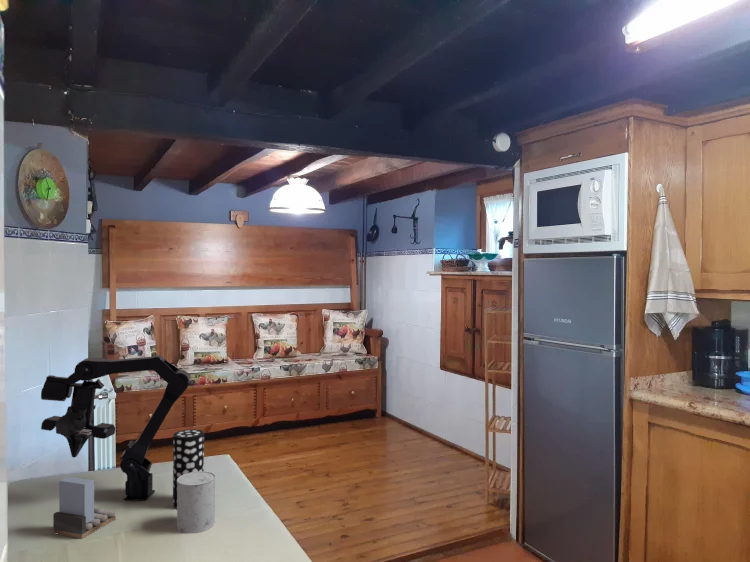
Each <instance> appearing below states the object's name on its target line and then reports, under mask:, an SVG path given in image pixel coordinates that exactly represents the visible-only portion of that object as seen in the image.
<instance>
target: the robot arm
mask: <svg viewBox="0 0 750 562" xmlns="http://www.w3.org/2000/svg"><path fill="white" fill-rule="evenodd" d="M145 371H153V372H155V373H156V374H157V375H158V376H159V377H160V378H161V379H162V380H164V381H165V383H167V384H166V386H165V390H164V393H163V396H162V398H161V399H160V401H159V403H158V405H156V406H157V407H156V408H155V410H154V412H153V413H152V415H151V416H150V418H149V421H148V422H147V424H146V425H145V427H144V428H143V430H142V432H141V434H140V436H139V437H138V438H137V439H136V440H135V441H134V440H129V443H128V444H127V446H126V449H125V450H123V453H121V456H120V458H119V459H120V460H121V461H120V463H119V466H120V470H121V471H122V472H123V473H124V474H125V475H126V481H125V484H124V486H125V488H124V489H125V491H124V492H125V493H124V495H125V497H123V500H124V501H146V500H148V499H149V498H150V497H151V496H152V495H154V494H155V493H156V490H155V489H153V486H154V485H153V478H154V477H153V476H154V475H153V473H152V472H151V473H150V470H151V468H152V465H153V462H152V461H151V460H149V459H148V458H147V457H146V456H147V453H148V449H149V447H150V445H151V443H152V441H153V440H154V437H155V436H156V435H157V432H158V431H159V429H160V427H161V426H162V424H163V422H164V420H165V419H166V417H167V415H168V414H169V412H170V411H171V409H172V407H173V405H174V404H175V403H176V401H178V399H179V398H180V397H181V396H182V395H183V394H184V392H185V391H186V390H187V389H188V387H189V385H190V381H191V376H190V373H189V372H188V371H186V370H184V369H179V368H178V367H177V366H175V365H174V364H172V363H171V362H169V361H167V360H166V359H165V358H164V357H163V356H162V355H159V354H157V355H153V356H142V357H141V356H140V357H132V358H130V357H129V358H120V359H108V358H102V357H101V358H100V357H86V358H84V359H83V360H81V361H79V362H77V364H76V365H75V367H74V372H73V373H71V374H70V375H69V376H68V377H65V376H56V375H51V374H50V375H48V376H46V378H45V381H44V384H43V387H42V388H41V394H40V399H41V400H43V401H55V402H65V401H66V400H67V399H70V398H71V402H70V404H71V405H70V406H67V409H66V413H65V414H64V415H61V416H59V415H53V416H50V417H47V418H45V419H43V420H42V422H41V427H40V429H41V431H42V430H43V431H49V432H50V431H53V430H55V433H56V434H58V435H60V436H63V437H64V438H65V439H66V440H67V443H68V446H69V447H68V448H69V450H70V451H69V452H70V455H71V458H77V457H78V455H79V453H80V452H81V450H82V449H83V447H84V445H85V443H87V441H88V439H90V437H93V438H96V439H102V440H103V439H107V438H109V437H111V436H114V435H115V433H116V427H115V425H114V424H112V423H106V422H101V423H99V424H97V425H92V424H93V423H94V418H93V410H96V407H97V406H96V404H95V397H96V391H97V390H102V389H103V388H104V387H105V384H104V383H103V382H102V381H101V379H100V378H103V377H105V376H109V375H113V374H116V375H117V374H123V373H135V372H145ZM95 379H96V380H95ZM92 380H93V381H92ZM94 380H95V381H94ZM80 381H83V382H82V383H81V382H80ZM92 418H93V419H92Z"/></svg>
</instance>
